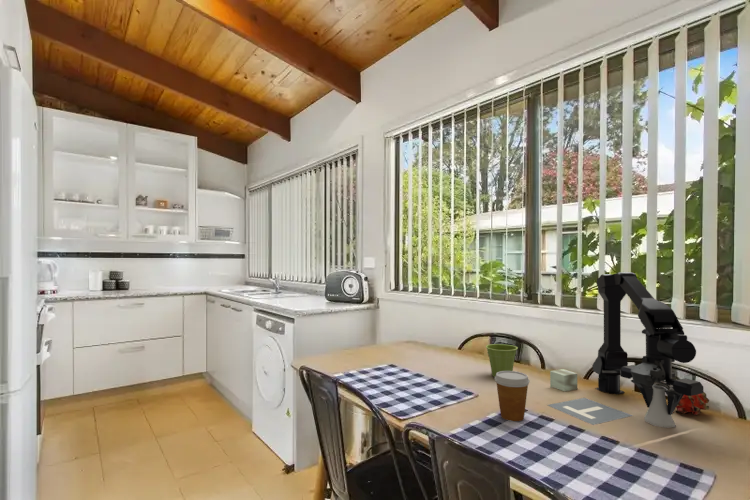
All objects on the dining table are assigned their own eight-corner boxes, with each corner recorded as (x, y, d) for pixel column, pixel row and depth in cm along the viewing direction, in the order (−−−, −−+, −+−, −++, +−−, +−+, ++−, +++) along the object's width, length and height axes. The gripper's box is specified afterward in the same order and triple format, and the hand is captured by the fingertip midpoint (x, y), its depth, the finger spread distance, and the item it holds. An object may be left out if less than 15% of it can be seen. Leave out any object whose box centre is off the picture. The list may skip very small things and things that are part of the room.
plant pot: (521, 374, 157) (520, 345, 157) (513, 382, 147) (513, 351, 147) (490, 370, 164) (490, 342, 164) (481, 377, 154) (481, 348, 154)
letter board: (584, 399, 129) (584, 397, 129) (633, 417, 115) (633, 415, 115) (546, 407, 123) (546, 404, 123) (593, 427, 109) (593, 424, 109)
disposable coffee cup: (490, 411, 120) (489, 370, 120) (521, 410, 121) (520, 369, 121) (502, 424, 111) (502, 380, 111) (536, 423, 111) (535, 379, 112)
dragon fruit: (707, 416, 119) (678, 427, 116) (682, 392, 126) (653, 402, 122) (724, 399, 114) (693, 410, 111) (696, 375, 121) (666, 384, 117)
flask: (682, 430, 106) (681, 392, 106) (651, 428, 107) (650, 390, 107) (667, 419, 113) (667, 383, 113) (639, 417, 114) (638, 382, 114)
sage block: (563, 386, 143) (562, 369, 144) (577, 391, 138) (577, 373, 138) (550, 388, 141) (550, 371, 141) (564, 393, 136) (564, 375, 136)
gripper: (606, 349, 116) (607, 403, 116) (676, 365, 99) (677, 429, 98) (632, 345, 120) (633, 398, 120) (704, 360, 103) (705, 422, 103)
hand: (659, 410), depth 110 cm, fingers closed on flask, 5 cm apart
